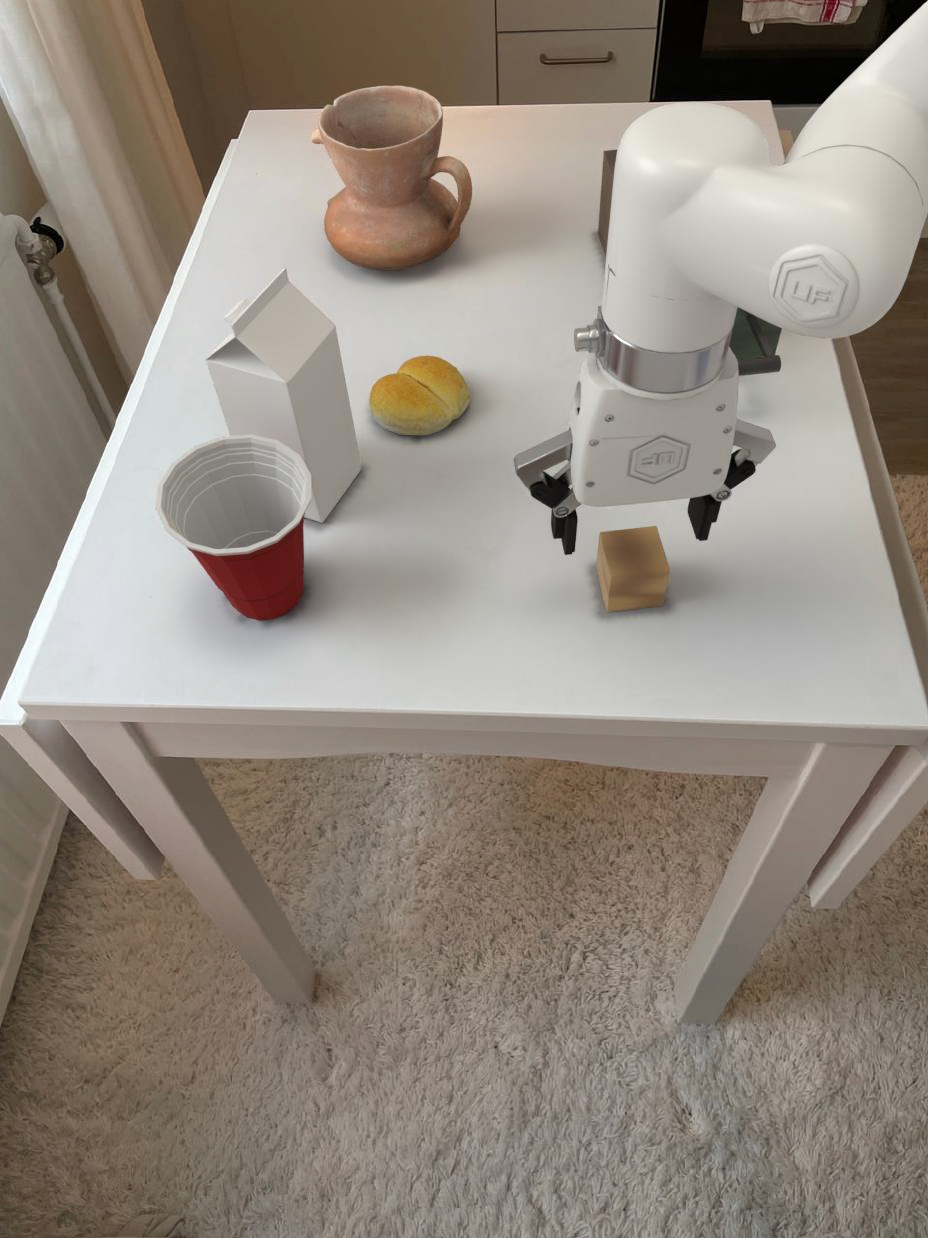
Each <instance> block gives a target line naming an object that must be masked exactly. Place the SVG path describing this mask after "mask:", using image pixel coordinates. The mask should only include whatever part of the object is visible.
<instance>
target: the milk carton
mask: <svg viewBox="0 0 928 1238" xmlns="http://www.w3.org/2000/svg"><path fill="white" fill-rule="evenodd" d="M223 319H224V321H225V322H226V323H227V324H229V326H230V327H231V331H230V333H229V334H228V335H227V336H226V337H225V338H224V339H223V340H222V341H221V342H220V344H218V345H217V346H216V348H215V349H214V350H213V351H212V352H211V353H210V354H209V355H208V356H207V357H206V359H205V362H206V366H207V369H208V372H209V375H210V379H211V381H212V384H213V387H214V389H215V390H214V391H215V394H216V396H217V400H218V403H219V405H220V409H221V412H222V415H223V418H224V421H225V424H226V428H227V430H228V434H229V436H236V435H256V436H260V437H265V438H269V439H273V440H277V441H280V442H281V443H283V444H284V445H286V446H287V447H289V448H290V449H292V450H293V451H295V452H296V453H298V454H299V455H300V456H301V458H302V460H303V461H304V463H305V465H306V467H307V468H308V470H309V472H310V474H311V501H310V503H309V505H308V507H307V509H306V511H305V515H304V519H305V518H306V519H309V520H312V521H315V522H318V523H324V522H325V521H326V520H327V518H328V517H329V515H330V514H331V512H332V511H333V510H334V508H335V507H336V506H337V504H338V503H339V501H340V500H341V499H342V497H343V495H344V494H345V493H346V492H347V490H348V489H349V488H350V486H351V484H352V483H354V480H355V479H356V478H357V476H358V475H359V474H360V472H361V471H362V461H361V456H360V449H359V446H358V445H359V444H358V439H357V434H356V429H355V423H354V419H353V413H352V407H351V402H350V398H349V397H350V396H349V392H348V386H347V381H346V375H345V370H344V365H343V359H342V354H341V349H340V344H339V343H340V342H339V337H338V332H337V327H336V324H335V323H334V321H332V320H331V319H330V318H329V317H328V316H327V315H326V314H325V313H323V311H321V309H319V308H318V307H317V305H315V304H314V303H313V302H312V301H311V300H310V299H309V298H308V297H307V296H306V295H304V294H303V292H302V291H300V289H298V288H297V286H295V285H294V284H293V283H292V282H291V281H290V279H289V276H288V269H287V268H286V267H282V268H281V269H280V270H279V272H277V274H276V275H275V276H274V277H273V278H272V279H271V280H270V281H269V282H268V283H267V284H266V285H265V286H264V288H263V289H262V290H261V291H259V292H258V294H257V295H256V296H255V297H254V298H253V299H252V300H251V301H249V299H247V297H244V298H242V299H240V300H239V301H238V302H237V303H236V304H235V305H234V306H232V308H231V309H229V311H228V312H226V314H225V315H224V317H223Z"/></svg>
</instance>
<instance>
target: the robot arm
mask: <svg viewBox="0 0 928 1238" xmlns="http://www.w3.org/2000/svg"><path fill="white" fill-rule="evenodd" d="M617 149H618V150H617ZM617 149H616V150H617V156H616V162H615V170H614V180H613V190H612V201H611V211H610V222H609V232H608V242H607V253H606V256H605V265H604V277H603V286H602V287H603V288H602V289H603V290H602V300H601V305H598V306H597V315H596V318H595V319H593V320H594V321H593V323H592V324H587V326H586V327H578V328H574V330H573V332H574V333H573V344H574V350H575V352H576V353H580V352H586V353H585V357H584V359H583V362H582V365H581V368H580V371H579V373H578V377H577V380H576V384H575V388H574V392H573V396H572V402H571V405H570V410H569V411H570V412H569V417H568V424H567V430H566V431H563V432H562V433H559V434H557V435H555V436H553V437H550V438H549V439H547V440H544V441H542V442H541V443H538V444H536V445H534V446H532V447H530V448H527V449H526V450H524V451H521V452H520V453H517V454H516V455H515V456H514V457H513V465H514V466H513V467H514V471H515V474H516V476H517V478H519V480H520V481H521V483H522V485H524V486H525V488H527V489H528V491H529V492H530V495H531V498H533V499H534V500H536V501H538V502H540V503H541V504H543V505H544V506H546V507H548V508H549V509H550V510H551V514H550V528H551V534H552V538H553V540H560V541H561V545H562V549H563V554H564V555H565V556H568V555H570V556H571V555H573V553H575V552H576V544H577V532H578V522H579V519H578V514H577V508H578V507H580V506H581V505H584V506H588V507H594V508H595V507H596V508H600V507H602V508H604V507H617V506H626V505H628V506H629V505H638V504H648V503H649V504H651V503H658V502H659V503H660V502H668V501H676V500H677V501H678V500H684V499H685V500H686V499H689V500H688V505H687V510H686V511H687V517H688V518H689V522H690V524H691V528H692V530H693V533H694V537H695V539H696V540H698V541H699V542H704V541H705V542H706V541H708V539H709V536H710V531H711V528H712V524H715V523H717V521H718V517H719V514H720V510H721V506H722V502H724V501H727V500H728V499H730V498H731V497H732V495H733V491H732V490H733V489H734V488H735V487H737V486H738V485H740V484H742V483H743V482H745V481H746V480H747V479H749V478H751V477H752V476H753V475H754V474H755V473H756V470H757V469H756V468H757V466H758V465H761V464H762V463H763V461H764V460H765V459H766V458H768V456H769V455H770V454H771V453H772V452H773V451H774V450H775V449H776V447H777V444H776V441H775V439H774V436H773V434H772V432H771V430H770V429H768V428H765V427H762V426H760V425H756V424H753V423H750V422H748V421H744V420H741V419H739V418H737V417H738V405H739V383H740V381H739V380H740V379H739V378H740V376H739V371H738V361H737V359H736V357H735V355H734V353H733V352H732V350H731V348H730V347H729V343H730V339H731V335H732V330H733V326H734V321H735V316H736V312H737V308H738V307H739V308H741V309H743V310H745V311H747V312H749V313H751V314H753V315H755V316H757V317H759V318H761V319H763V320H765V321H767V322H769V323H771V324H773V325H775V326H778V327H780V328H782V330H784V331H787V332H790V333H793V334H796V335H800V336H803V337H808V338H814V339H820V340H830V339H831V340H834V339H842V338H847V337H850V336H853V335H856V334H859V333H862V332H863V331H865V330H867V329H869V328H870V327H872V326H873V325H875V324H876V323H877V322H878V321H880V320H881V319H883V318H884V316H885V315H886V314H887V313H888V312H889V311H890V309H892V307H893V305H894V304H895V302H896V301H897V299H898V297H899V296H900V293H901V292H902V289H903V287H904V285H905V283H906V280H907V278H908V276H909V272H910V269H911V266H912V263H913V260H914V257H915V254H916V250H917V247H918V245H919V242H920V239H921V234H922V230H923V228H924V226H925V223H926V220H927V217H928V0H927V1H926V2H924V3H923V4H922V5H921V6H920V7H919V8H918V9H917V10H915V12H914V13H912V15H910V16H909V18H907V20H905V21H904V22H903V23H902V24H901V25H900V26H899V27H898V28H897V29H896V30H895V31H894V32H893V33H892V34H891V35H890V36H888V38H887V39H886V40H885V41H883V42H882V44H881V45H880V46H879V47H878V48H877V49H875V50H874V52H873V53H871V54H870V55H869V56H868V57H867V58H866V59H865V60H864V61H863V62H862V63H861V64H860V65H859V66H858V67H857V68H856V69H855V70H854V71H853V72H851V74H850V75H849V76H848V77H847V78H846V79H845V80H844V81H843V82H842V83H841V84H840V85H839V86H838V87H837V88H836V89H835V90H834V91H833V92H832V93H831V94H830V95H829V96H828V97H827V98H826V99H825V101H824V102H823V103H822V104H821V105H820V106H819V107H818V108H817V109H816V111H814V113H813V114H812V116H811V117H810V118H809V120H808V121H806V124H805V125H804V126H803V128H802V129H801V131H800V133H799V134H798V135H797V137H796V139H795V141H794V143H793V145H792V146H791V148H790V150H789V152H788V153H787V155H786V157H785V160H784V161H783V163H782V164H780V165H779V164H777V163H774V162H773V161H772V158H771V150H770V145H769V140H768V139H767V136H766V134H765V132H764V131H763V129H762V127H761V126H760V125H759V124H758V123H757V122H756V121H754V120H753V119H752V118H751V117H749V115H747V114H745V113H743V112H742V111H739V110H737V109H735V108H733V107H729V106H727V105H722V104H718V103H713V102H704V101H682V102H674V103H668V104H664V105H660V106H658V107H655V108H652V109H650V110H648V111H646V112H645V113H644V114H641V115H640V116H638V117H637V118H636V119H635V120H634V121H633V122H632V123H631V124H630V125H629V126H628V127H627V129H626V130H625V131H624V132H623V135H622V137H621V139H620V142H619V144H618V147H617ZM734 447H737V448H738V449H737V450H734V452H733V448H734ZM565 461H567V463H566V464H565V465H564V466H563V467H562V468H561V469H559V470H558V471H557V473H555V474H554V475H553V476H552V475H551V474H549V473H547V472H546V471H547V470H548V469H550V468H553V467H555V466H557V465H559V464H561V463H563V462H565ZM570 486H571V488H570Z"/></svg>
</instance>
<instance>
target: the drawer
mask: <svg viewBox="0 0 928 1238" xmlns="http://www.w3.org/2000/svg"><path fill="white" fill-rule="evenodd" d="M782 331H783V329H782V328H780V327H778V326H775V325H773V324H771V323H769V322H767V321H765V320H763V319H761V318H759V317H757V316H755V315H753V314H751V313H749V312H747V311H745V310H743V309H741V308H739V307H738V308H737V312H736V316H735V321H734V326H733V330H732V335H731V339H730V343H729V347H730V348H731V350H732V352H733V353H734V355H735V357H736V359H737V361H738V371H739V377H745V376H754V375H762V374H763V375H764V374H771V373H772V374H773V373H779V372H780V371H781V368H782V357H781V355H779V354H776V353H777V349H778V345H779V341H780V338H781V334H782Z"/></svg>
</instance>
